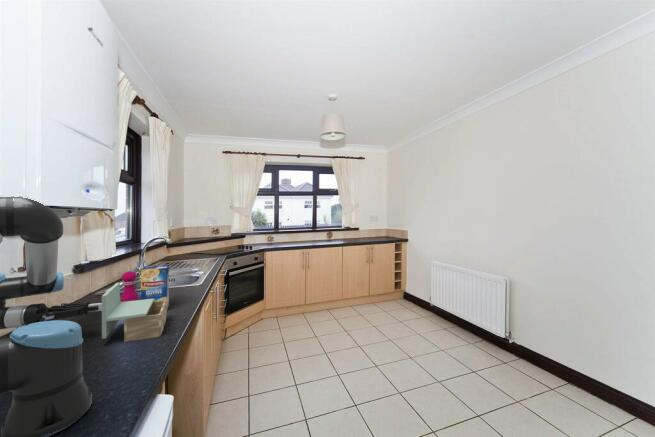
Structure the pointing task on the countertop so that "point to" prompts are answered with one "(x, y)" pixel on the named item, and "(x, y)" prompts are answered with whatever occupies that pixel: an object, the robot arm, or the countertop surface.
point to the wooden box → (146, 323)
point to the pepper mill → (129, 287)
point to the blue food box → (155, 283)
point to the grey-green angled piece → (120, 309)
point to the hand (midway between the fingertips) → (109, 305)
